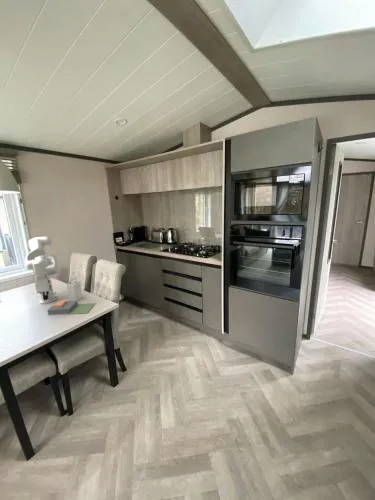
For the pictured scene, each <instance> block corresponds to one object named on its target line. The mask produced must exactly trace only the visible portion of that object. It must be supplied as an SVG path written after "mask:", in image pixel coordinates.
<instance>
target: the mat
mask: <svg viewBox="0 0 375 500" xmlns="http://www.w3.org/2000/svg"><path fill="white" fill-rule="evenodd" d="M95 305H96V302H91V303H88V302H87V303H78V305H77V306H76V307H75V308H74V309H73V310H72V311H71V312H70V313H69V314H68V315H81V314H82V315H83V314H89V312H90V311H91V310H92V309H93V308H94V306H95Z"/></svg>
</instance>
